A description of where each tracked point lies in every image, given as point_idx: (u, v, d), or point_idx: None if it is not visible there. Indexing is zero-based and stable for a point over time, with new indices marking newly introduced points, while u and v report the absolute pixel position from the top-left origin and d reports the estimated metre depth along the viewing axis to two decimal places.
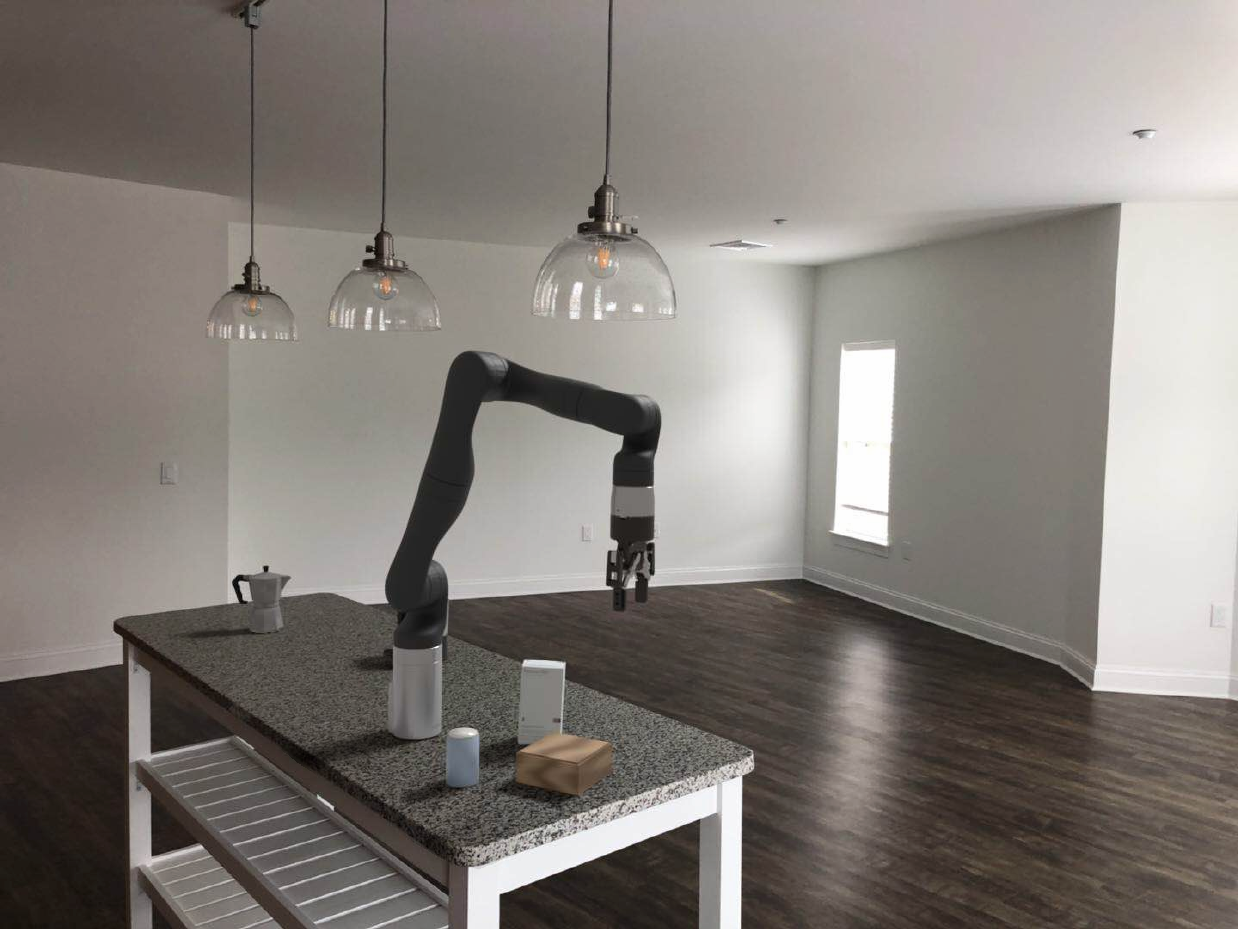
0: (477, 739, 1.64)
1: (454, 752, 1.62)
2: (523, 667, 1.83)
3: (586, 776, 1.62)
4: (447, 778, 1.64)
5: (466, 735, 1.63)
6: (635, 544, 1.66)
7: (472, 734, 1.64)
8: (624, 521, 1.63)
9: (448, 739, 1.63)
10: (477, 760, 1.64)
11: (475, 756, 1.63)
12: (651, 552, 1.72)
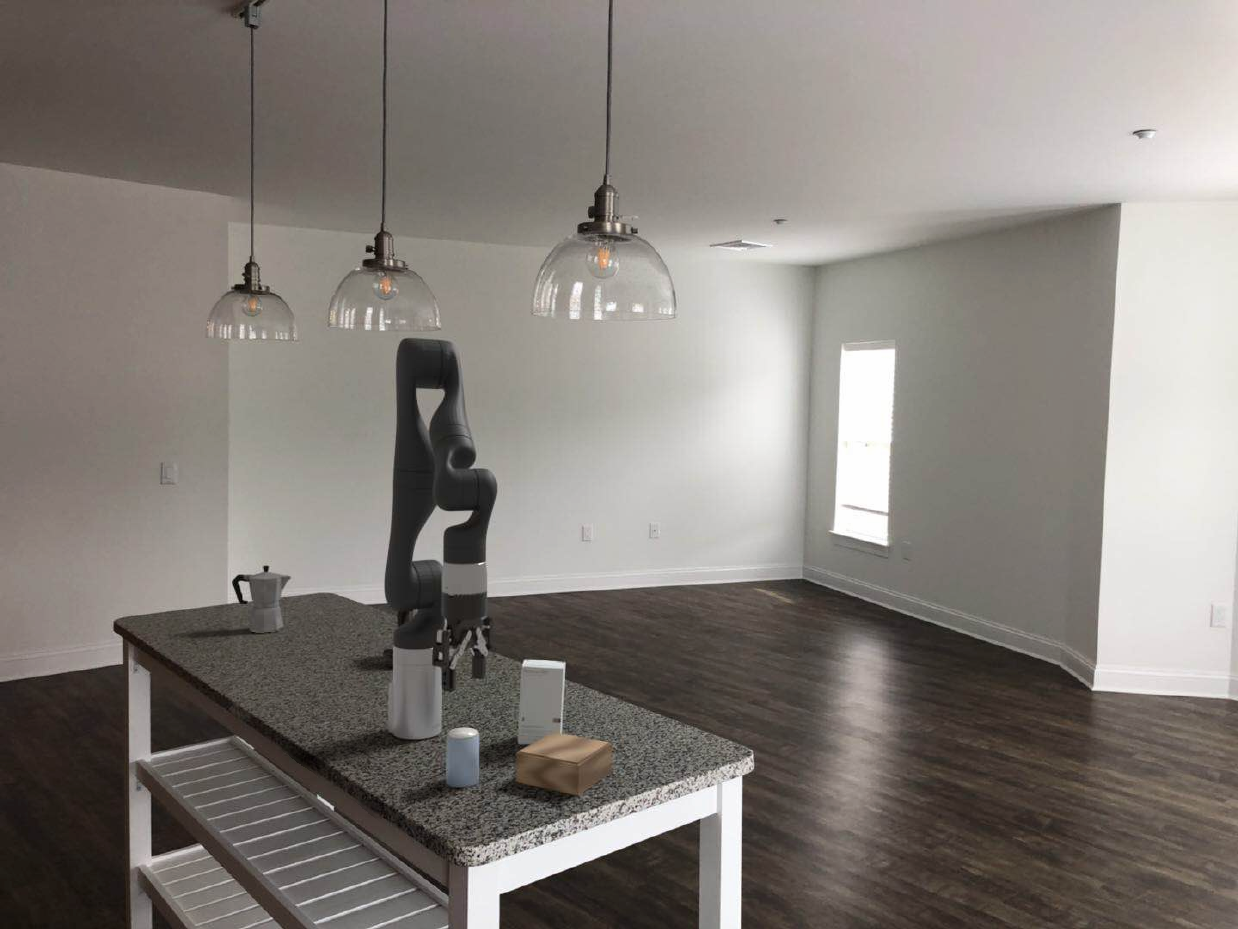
0: (477, 739, 1.64)
1: (454, 752, 1.62)
2: (523, 667, 1.83)
3: (586, 776, 1.62)
4: (447, 778, 1.64)
5: (466, 735, 1.63)
6: (466, 621, 1.62)
7: (472, 734, 1.64)
8: (452, 599, 1.60)
9: (448, 739, 1.63)
10: (477, 760, 1.64)
11: (475, 756, 1.63)
12: (488, 627, 1.68)
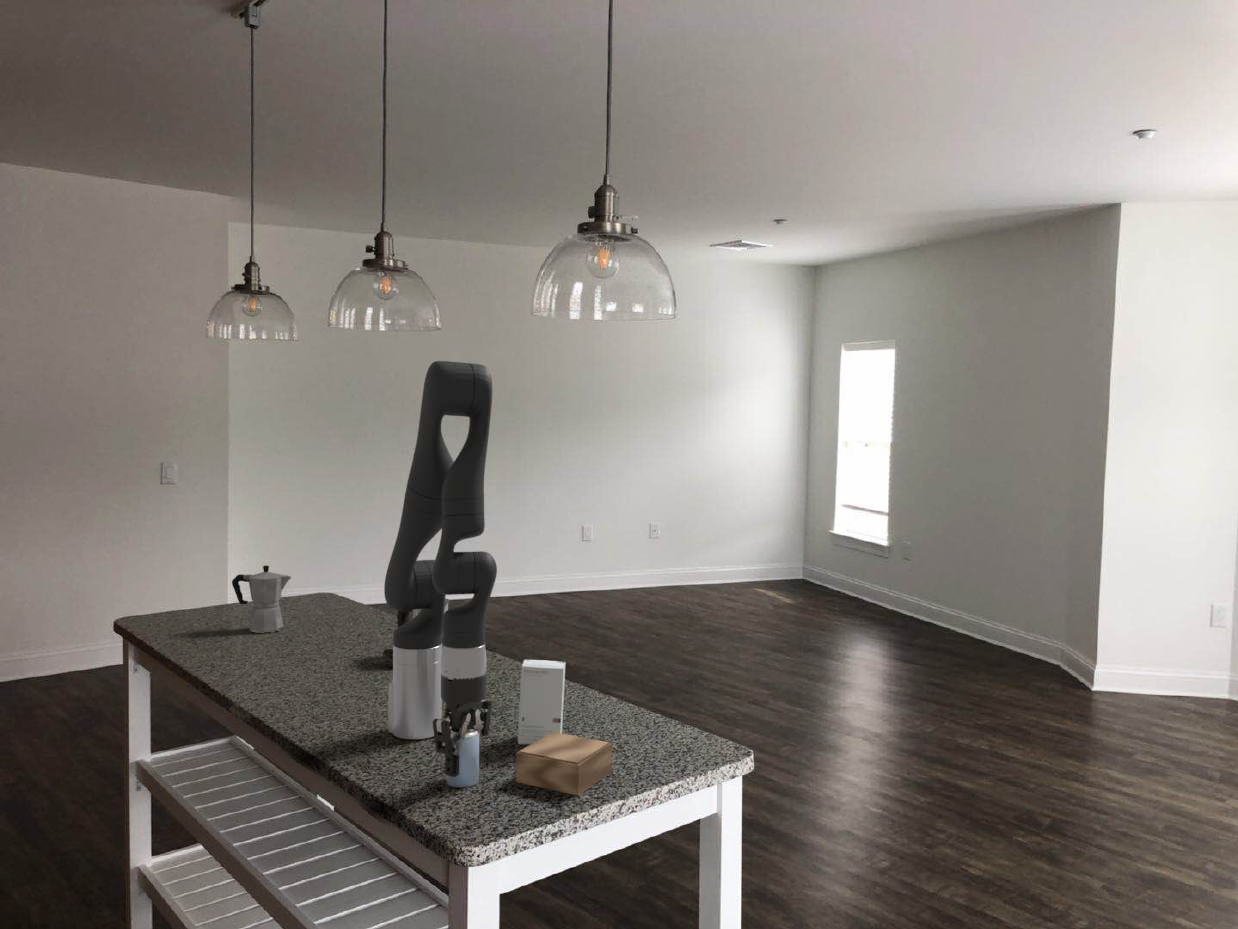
0: (477, 739, 1.64)
1: None
2: (523, 667, 1.83)
3: (586, 776, 1.62)
4: (447, 778, 1.64)
5: (466, 735, 1.63)
6: (465, 704, 1.63)
7: (472, 734, 1.64)
8: (451, 683, 1.61)
9: None
10: (477, 760, 1.64)
11: (475, 756, 1.63)
12: (486, 710, 1.69)
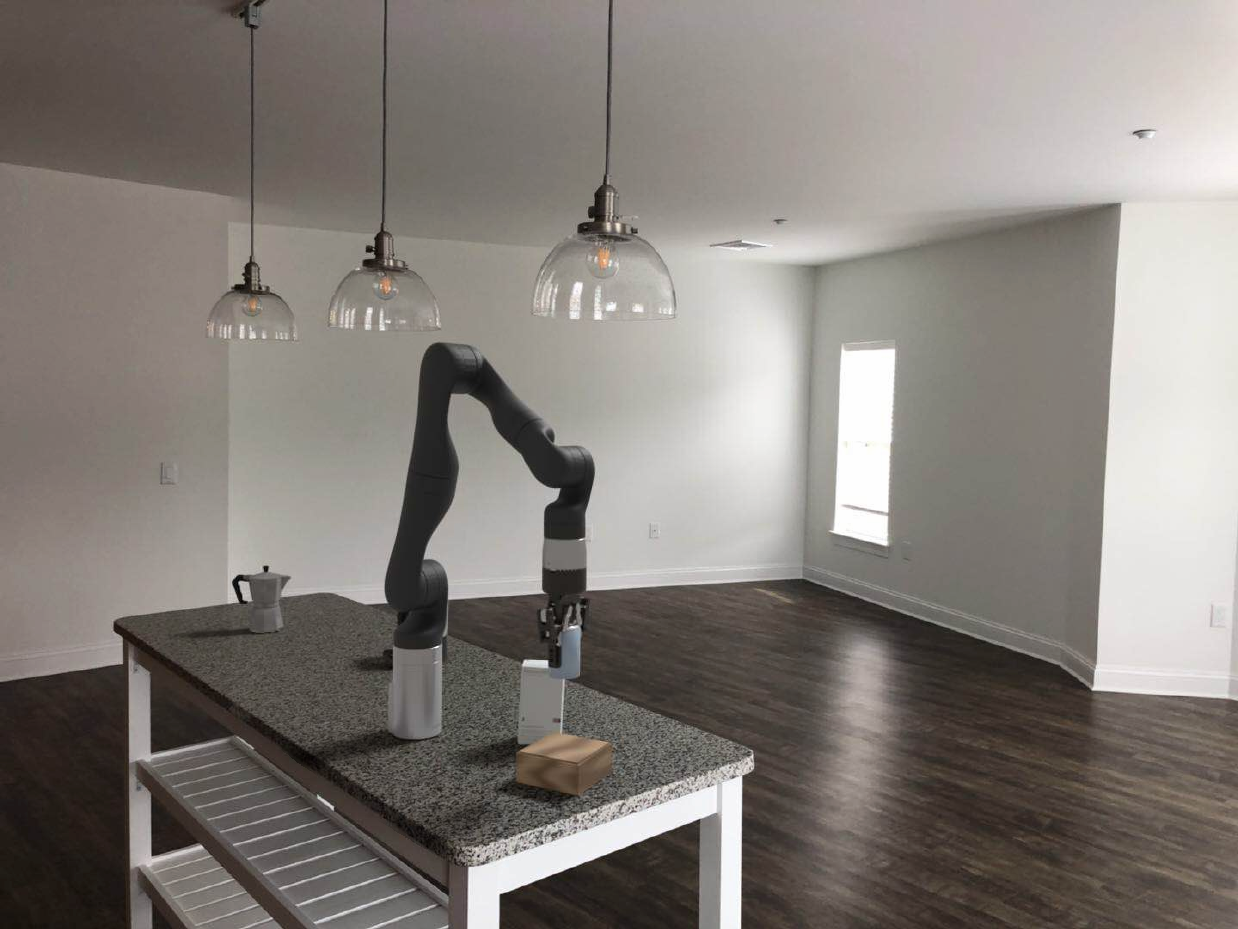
0: (579, 632, 1.65)
1: None
2: (523, 667, 1.83)
3: (586, 776, 1.62)
4: (549, 671, 1.65)
5: (568, 627, 1.64)
6: (567, 597, 1.64)
7: (574, 627, 1.65)
8: (554, 574, 1.62)
9: None
10: (579, 653, 1.66)
11: (577, 648, 1.65)
12: (585, 607, 1.70)
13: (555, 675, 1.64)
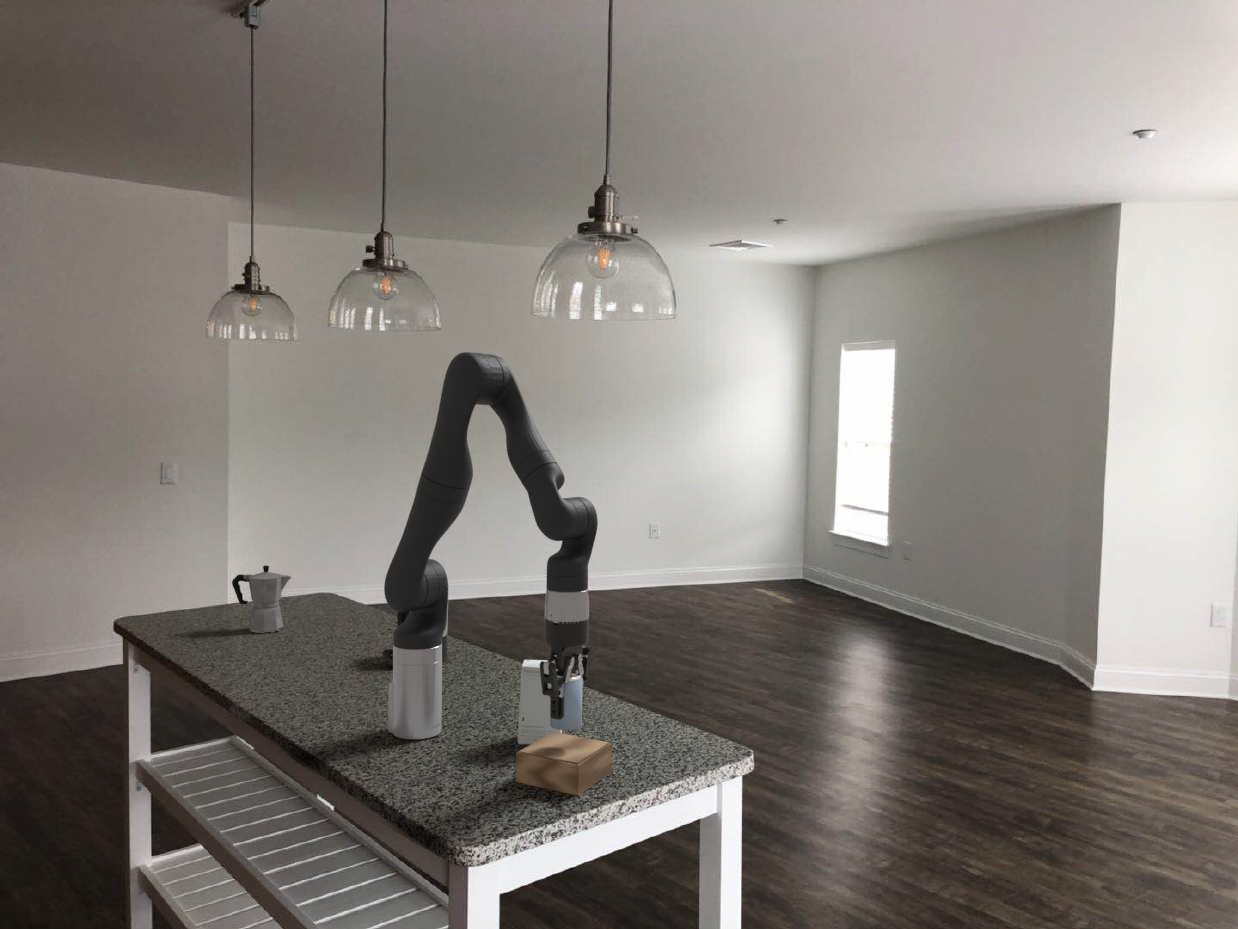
0: (581, 683, 1.66)
1: None
2: (523, 667, 1.83)
3: (586, 776, 1.62)
4: (551, 721, 1.66)
5: (570, 679, 1.65)
6: (569, 648, 1.65)
7: (576, 678, 1.66)
8: (557, 626, 1.63)
9: None
10: (581, 704, 1.66)
11: (579, 699, 1.66)
12: (586, 656, 1.71)
13: (557, 726, 1.65)
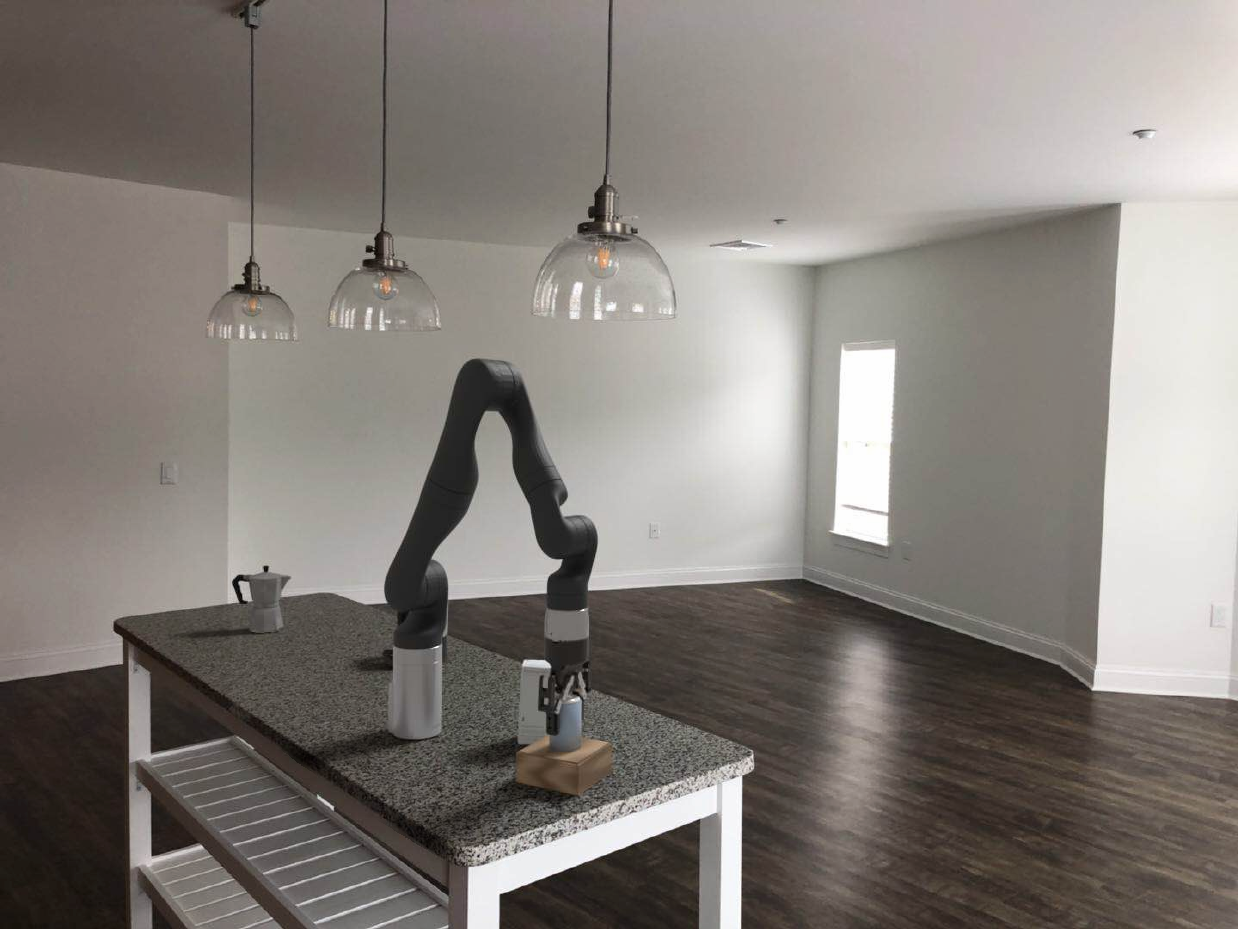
0: (580, 705, 1.66)
1: None
2: (523, 667, 1.83)
3: (586, 776, 1.62)
4: (551, 743, 1.66)
5: (570, 701, 1.66)
6: (569, 666, 1.65)
7: (575, 700, 1.66)
8: (557, 645, 1.63)
9: None
10: (580, 725, 1.67)
11: (578, 721, 1.66)
12: (587, 670, 1.71)
13: (556, 748, 1.65)
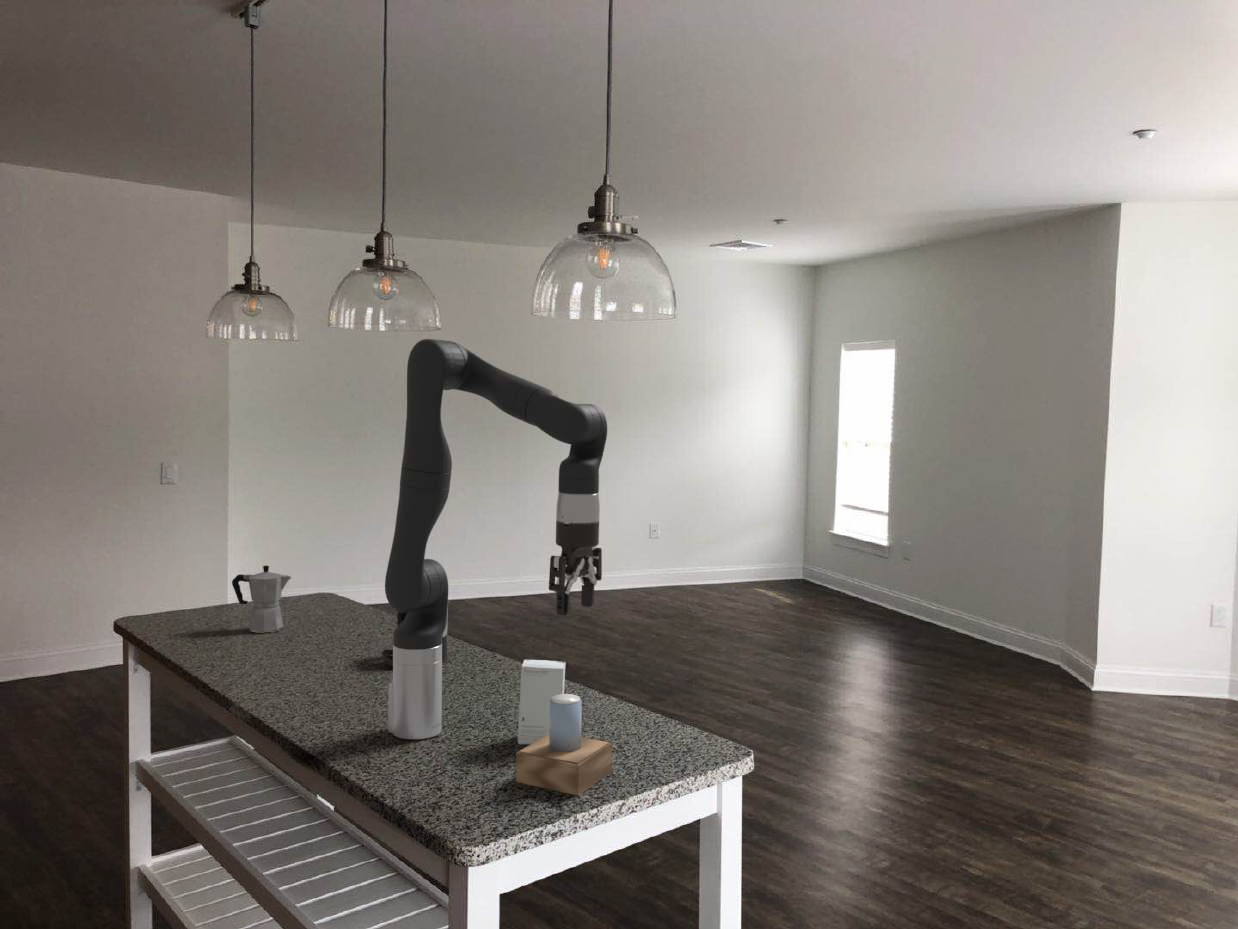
0: (580, 705, 1.66)
1: (558, 717, 1.65)
2: (523, 667, 1.83)
3: (586, 776, 1.62)
4: (551, 743, 1.66)
5: (570, 701, 1.66)
6: (579, 550, 1.70)
7: (575, 700, 1.66)
8: (568, 527, 1.68)
9: (552, 705, 1.66)
10: (580, 725, 1.67)
11: (578, 721, 1.66)
12: (597, 557, 1.76)
13: (556, 748, 1.65)
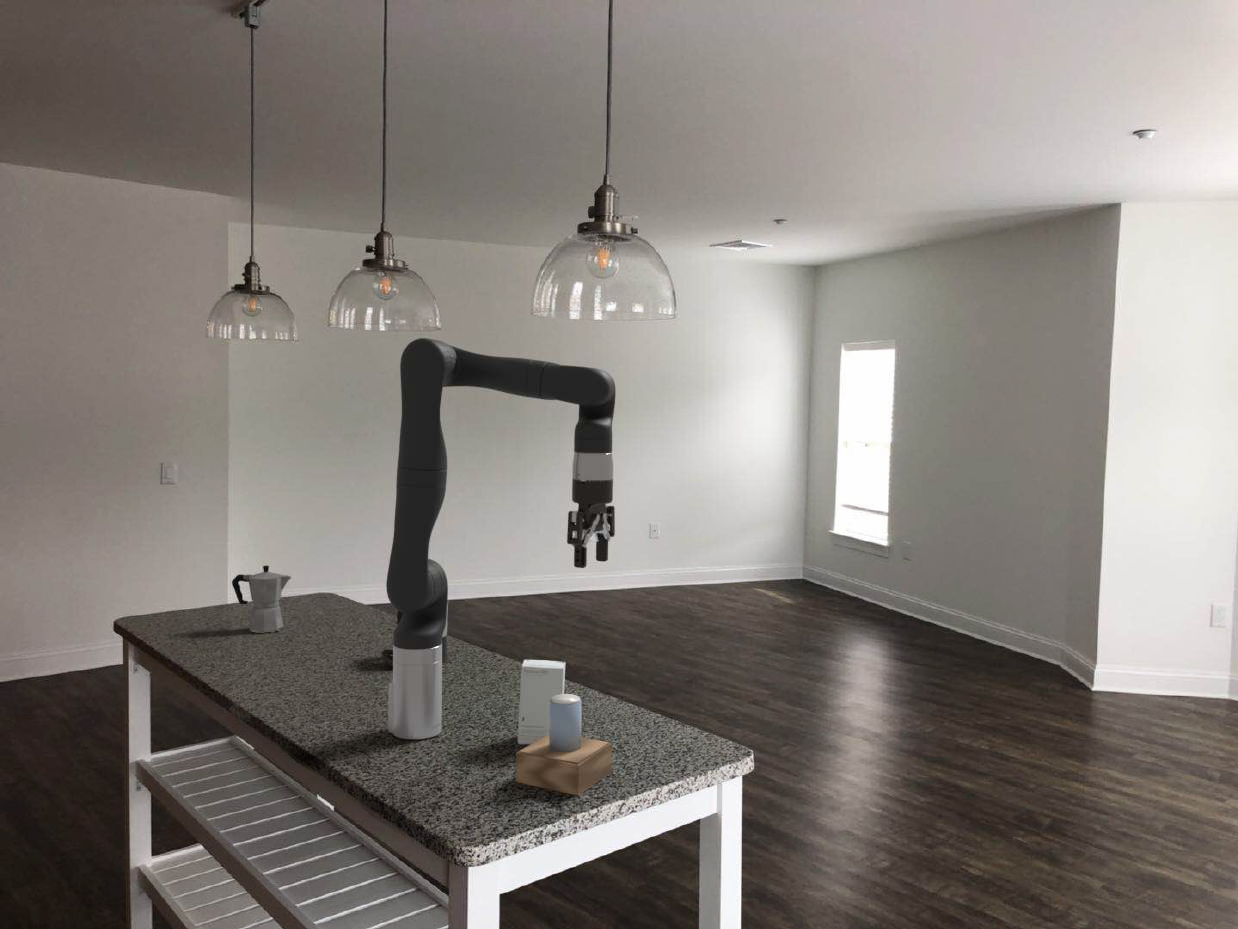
0: (580, 705, 1.66)
1: (558, 717, 1.65)
2: (523, 667, 1.83)
3: (586, 776, 1.62)
4: (551, 743, 1.66)
5: (570, 701, 1.66)
6: (595, 506, 1.80)
7: (575, 700, 1.66)
8: (584, 484, 1.78)
9: (552, 705, 1.66)
10: (580, 725, 1.67)
11: (578, 721, 1.66)
12: (611, 515, 1.86)
13: (556, 748, 1.65)
